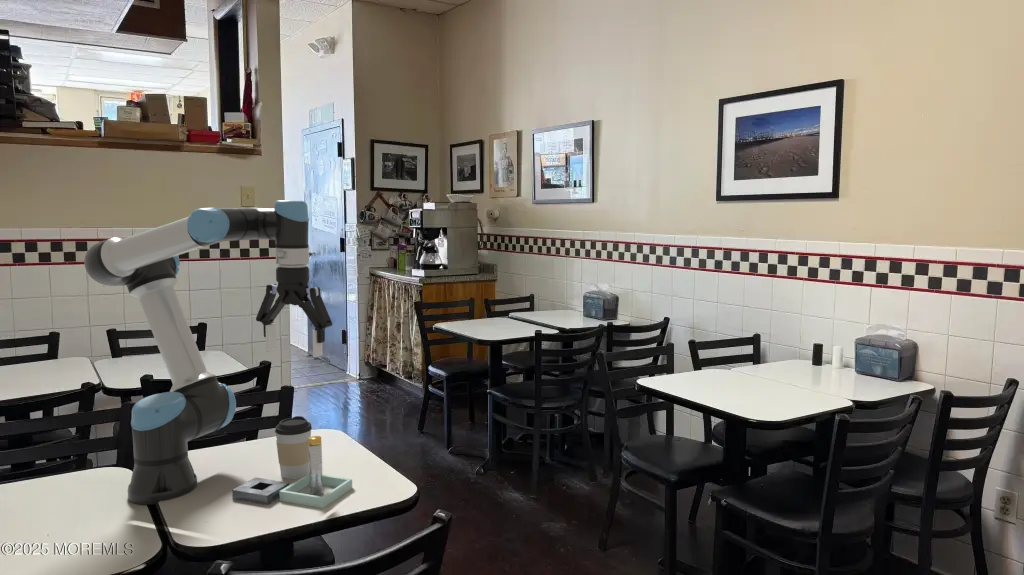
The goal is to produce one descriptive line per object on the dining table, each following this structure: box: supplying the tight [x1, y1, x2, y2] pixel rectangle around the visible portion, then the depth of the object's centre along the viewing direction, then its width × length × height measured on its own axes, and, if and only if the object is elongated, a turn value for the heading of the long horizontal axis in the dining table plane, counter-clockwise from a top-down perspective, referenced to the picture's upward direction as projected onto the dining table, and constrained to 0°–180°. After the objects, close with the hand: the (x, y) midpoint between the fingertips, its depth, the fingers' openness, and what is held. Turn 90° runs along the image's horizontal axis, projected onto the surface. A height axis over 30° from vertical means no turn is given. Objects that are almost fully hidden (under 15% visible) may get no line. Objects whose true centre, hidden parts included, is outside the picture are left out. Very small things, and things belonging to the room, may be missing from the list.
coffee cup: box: [274, 415, 313, 480], centre depth 176 cm, size 9×9×15 cm
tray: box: [279, 474, 353, 509], centre depth 164 cm, size 12×12×3 cm
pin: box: [308, 435, 324, 497], centre depth 163 cm, size 3×3×14 cm
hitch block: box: [231, 476, 291, 506], centre depth 163 cm, size 10×8×3 cm
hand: (294, 353), depth 165 cm, fingers open, 13 cm apart
